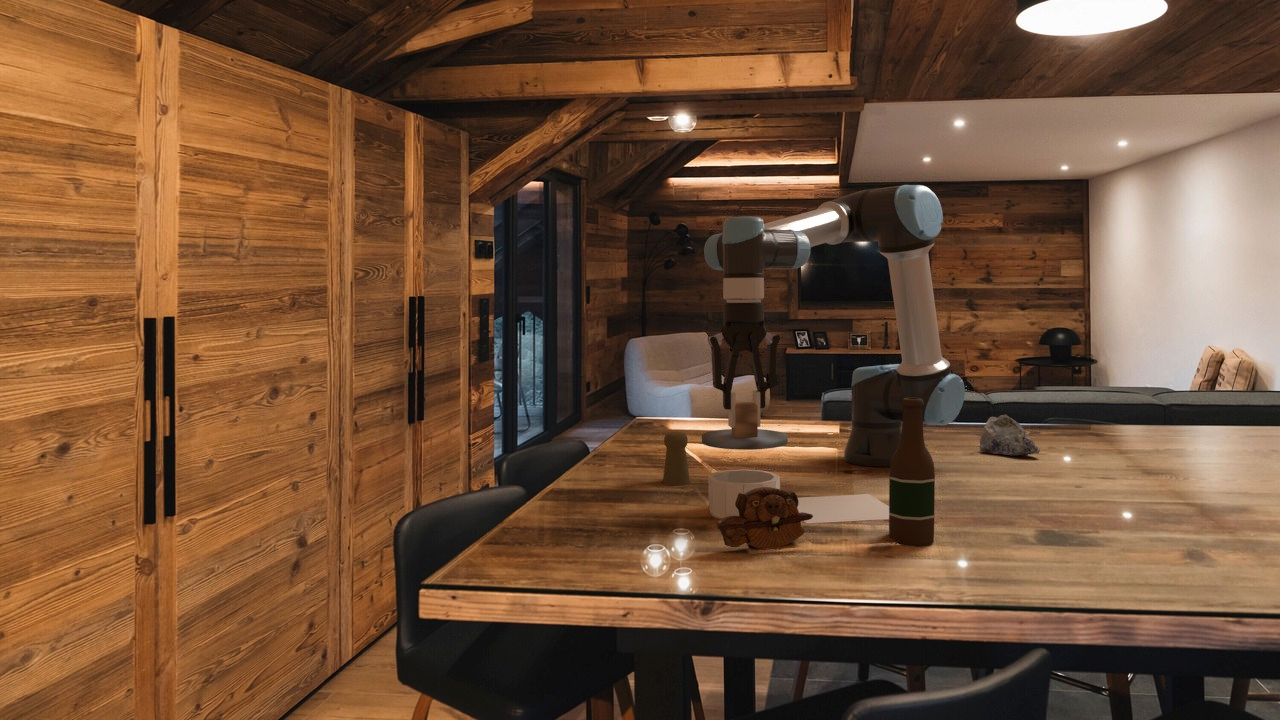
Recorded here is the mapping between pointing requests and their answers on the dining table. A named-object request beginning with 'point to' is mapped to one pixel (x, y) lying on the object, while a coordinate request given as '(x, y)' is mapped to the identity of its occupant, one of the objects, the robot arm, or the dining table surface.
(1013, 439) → the mineral rock
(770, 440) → the lid
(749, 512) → the wooden carving
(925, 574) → the dining table surface
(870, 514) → the mat
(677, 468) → the cork
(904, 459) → the beer bottle
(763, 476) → the bowl
